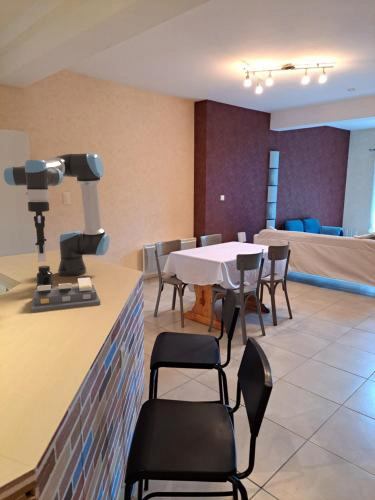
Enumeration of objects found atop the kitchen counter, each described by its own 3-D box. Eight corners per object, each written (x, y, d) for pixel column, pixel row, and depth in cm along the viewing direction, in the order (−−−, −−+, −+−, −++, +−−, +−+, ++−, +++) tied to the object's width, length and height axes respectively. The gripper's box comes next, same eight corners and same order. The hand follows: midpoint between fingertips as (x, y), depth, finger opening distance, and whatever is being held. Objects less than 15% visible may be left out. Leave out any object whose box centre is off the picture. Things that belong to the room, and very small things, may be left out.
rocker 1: (38, 289, 146) (37, 285, 146) (51, 288, 148) (50, 284, 148) (37, 291, 138) (37, 286, 138) (50, 289, 140) (50, 285, 140)
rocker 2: (58, 287, 149) (58, 283, 149) (70, 286, 151) (70, 282, 151) (58, 289, 141) (58, 284, 141) (71, 287, 143) (71, 283, 143)
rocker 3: (77, 281, 152) (77, 278, 151) (89, 280, 154) (89, 277, 153) (79, 291, 144) (79, 287, 144) (92, 290, 146) (92, 286, 146)
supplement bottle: (36, 294, 156) (34, 268, 154) (38, 290, 163) (36, 265, 160) (52, 293, 158) (51, 267, 156) (54, 289, 164) (52, 264, 162)
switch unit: (32, 300, 148) (31, 287, 147) (95, 293, 158) (95, 282, 157) (31, 312, 134) (30, 298, 133) (100, 304, 143) (100, 291, 142)
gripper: (28, 200, 142) (32, 255, 146) (26, 202, 123) (30, 265, 127) (48, 200, 145) (52, 254, 149) (48, 202, 126) (52, 263, 130)
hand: (42, 259), depth 138 cm, fingers open, 8 cm apart
